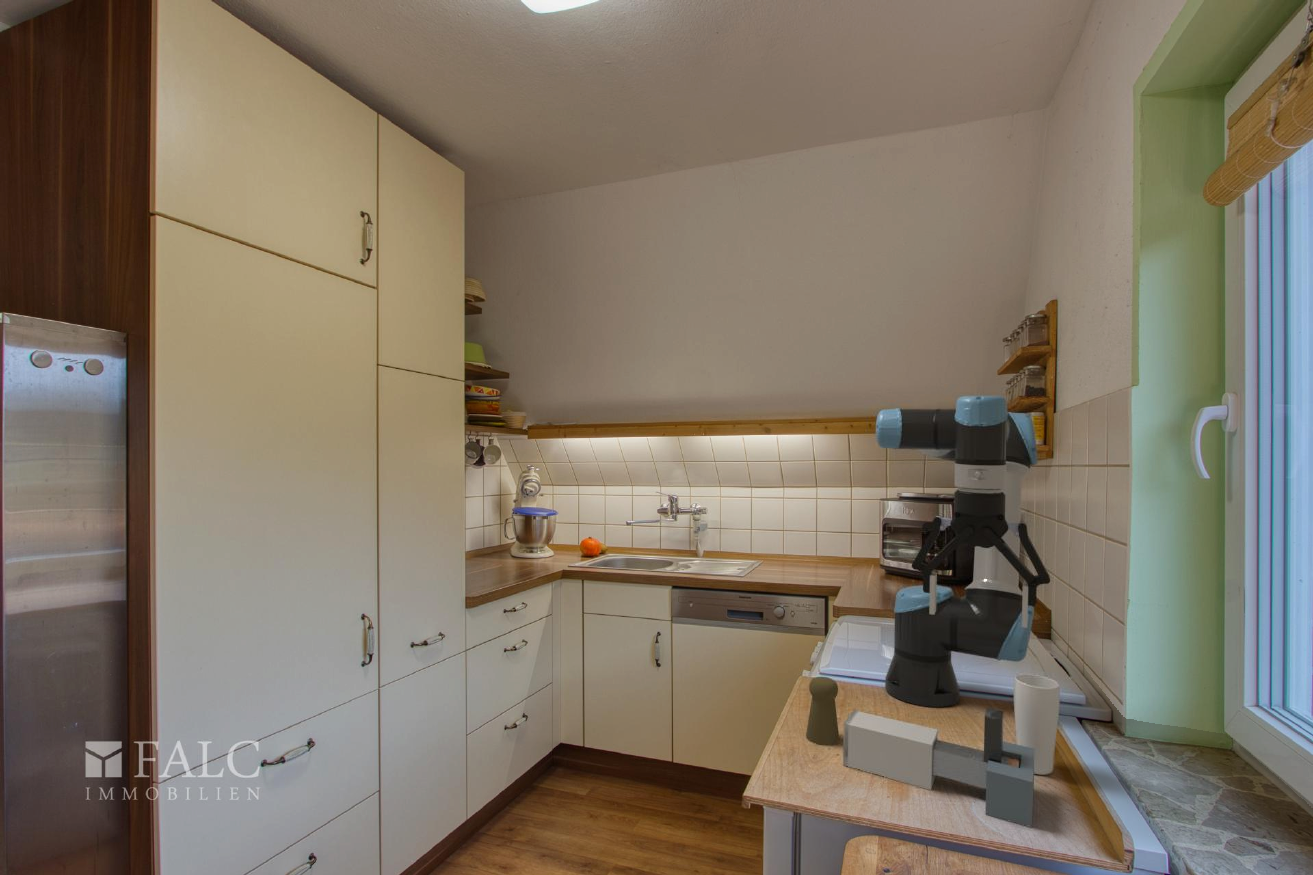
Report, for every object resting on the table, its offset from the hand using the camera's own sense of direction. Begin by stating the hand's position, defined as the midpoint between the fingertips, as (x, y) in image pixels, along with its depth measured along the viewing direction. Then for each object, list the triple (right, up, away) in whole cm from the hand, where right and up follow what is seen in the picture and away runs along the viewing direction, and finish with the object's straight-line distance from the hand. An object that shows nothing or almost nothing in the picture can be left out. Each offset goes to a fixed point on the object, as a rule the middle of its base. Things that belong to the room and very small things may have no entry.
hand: (977, 618), depth 108 cm
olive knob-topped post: (-22, -26, +14) cm, 37 cm away
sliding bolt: (-5, -24, -2) cm, 25 cm away
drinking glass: (+12, -27, +4) cm, 30 cm away
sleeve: (-13, -26, +3) cm, 30 cm away
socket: (+1, -27, -6) cm, 27 cm away
